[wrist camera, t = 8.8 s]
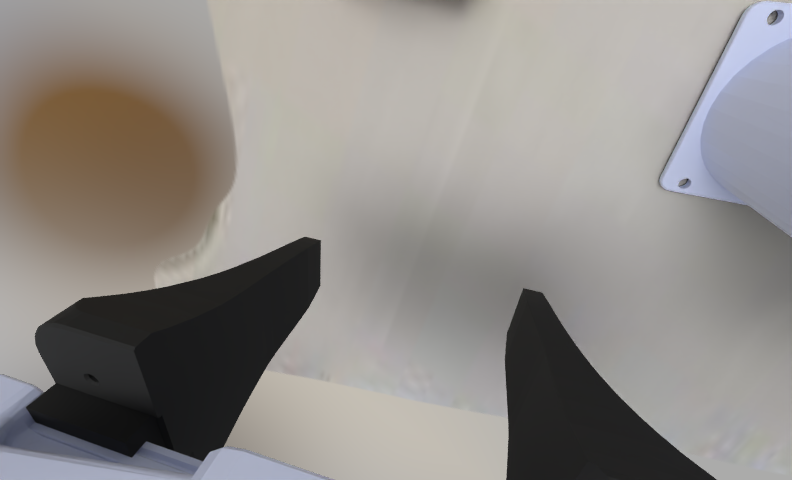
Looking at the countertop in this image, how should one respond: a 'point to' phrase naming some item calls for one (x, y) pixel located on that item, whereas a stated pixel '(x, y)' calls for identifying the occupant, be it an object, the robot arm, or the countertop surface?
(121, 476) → the robot arm
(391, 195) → the countertop surface
